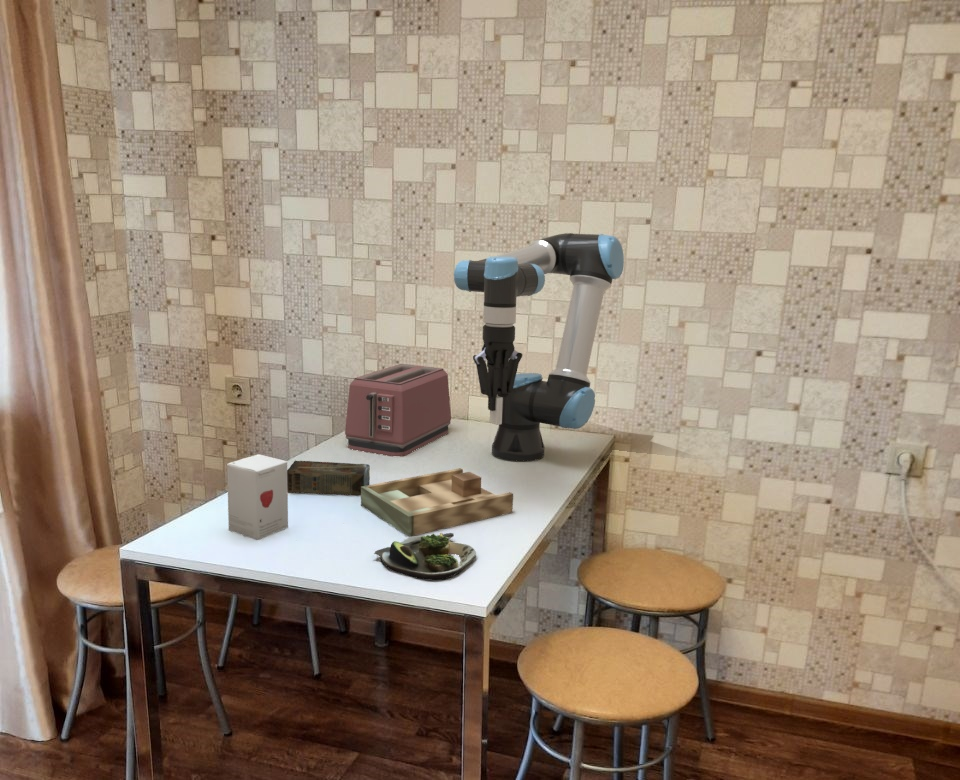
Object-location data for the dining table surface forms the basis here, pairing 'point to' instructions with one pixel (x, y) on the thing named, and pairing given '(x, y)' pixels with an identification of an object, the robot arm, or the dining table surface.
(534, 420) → the robot arm
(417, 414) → the toaster
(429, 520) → the box
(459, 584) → the dining table surface
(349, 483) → the beverage carton
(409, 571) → the salad plate
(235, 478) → the supplement box
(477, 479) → the block
